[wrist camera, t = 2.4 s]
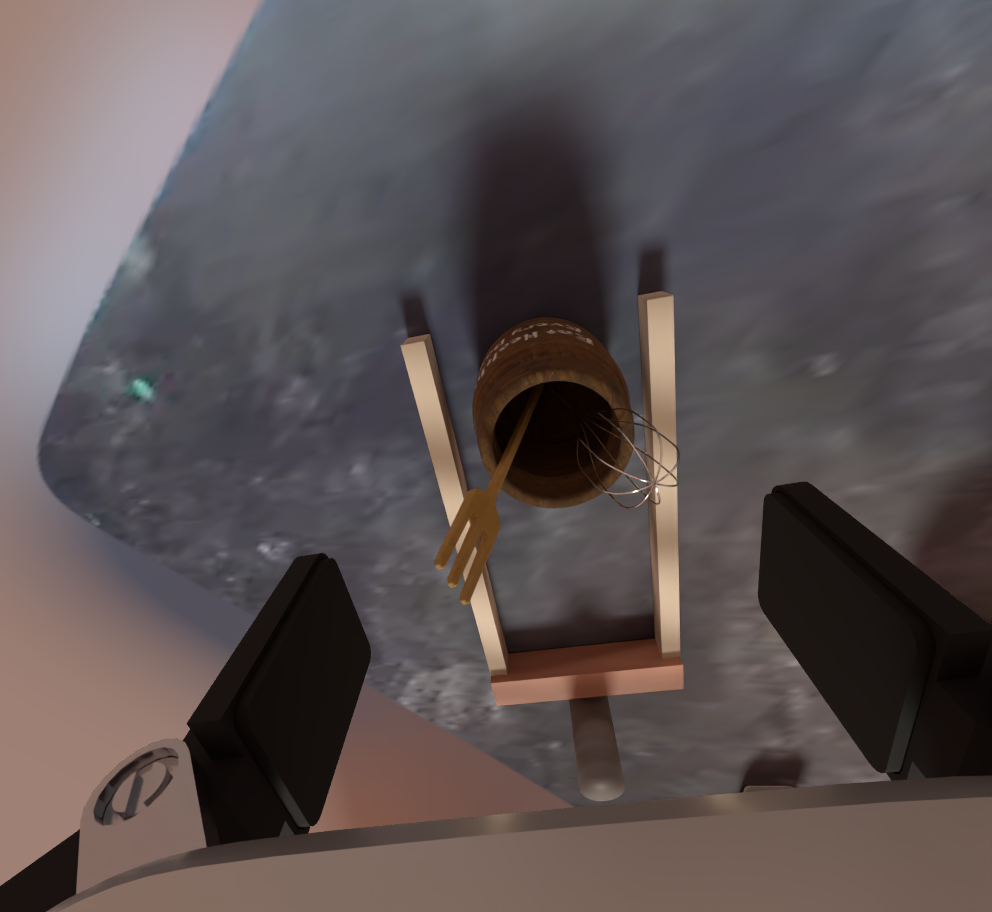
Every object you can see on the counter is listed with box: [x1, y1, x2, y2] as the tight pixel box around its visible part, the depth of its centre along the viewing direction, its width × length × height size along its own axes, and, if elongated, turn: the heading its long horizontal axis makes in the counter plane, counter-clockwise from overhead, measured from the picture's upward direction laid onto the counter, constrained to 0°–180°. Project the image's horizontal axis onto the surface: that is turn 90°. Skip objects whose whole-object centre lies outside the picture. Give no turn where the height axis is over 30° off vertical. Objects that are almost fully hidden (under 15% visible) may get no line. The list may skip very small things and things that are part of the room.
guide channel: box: [401, 291, 683, 801], centre depth 23 cm, size 25×11×6 cm, turn 11°
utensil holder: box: [435, 317, 680, 605], centre depth 16 cm, size 6×6×12 cm
